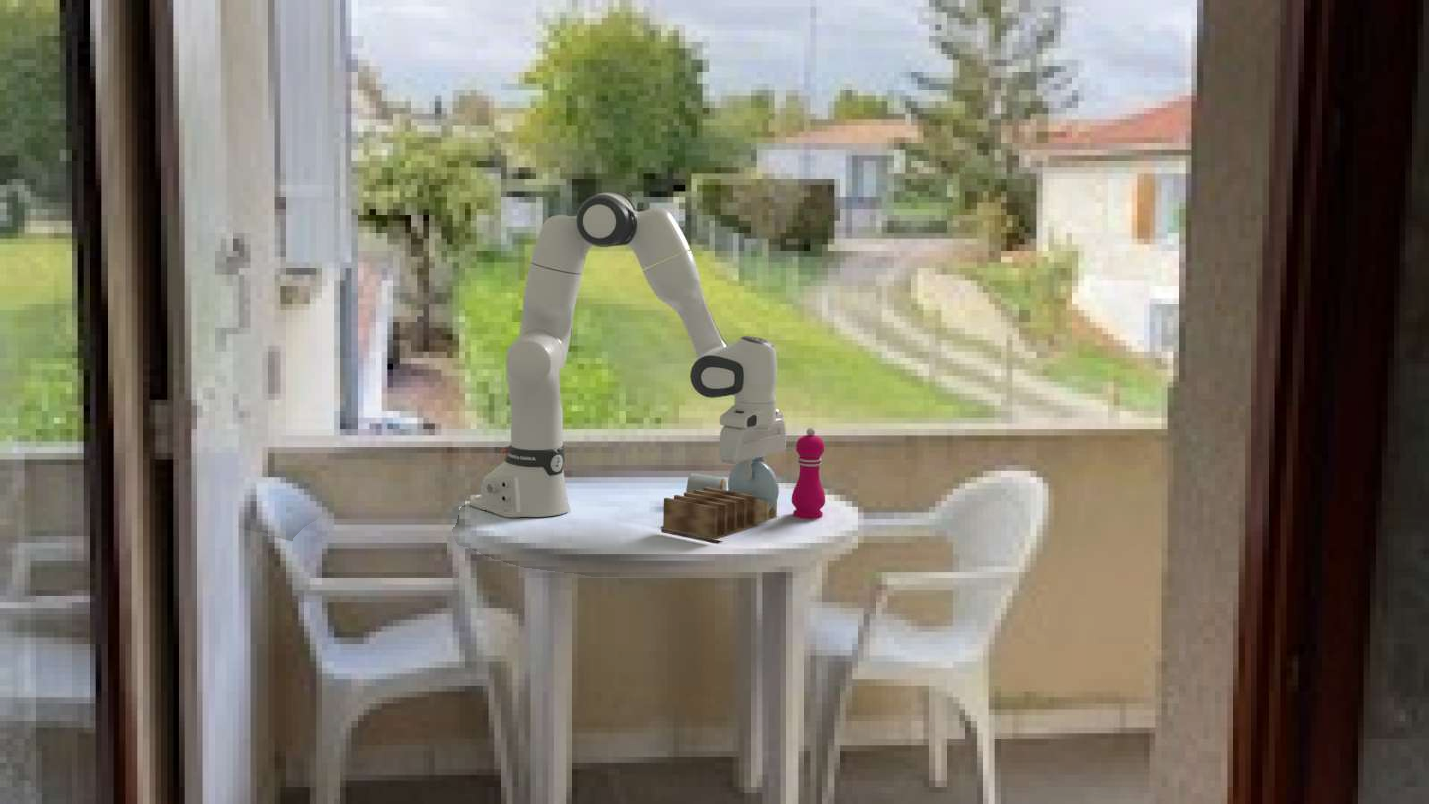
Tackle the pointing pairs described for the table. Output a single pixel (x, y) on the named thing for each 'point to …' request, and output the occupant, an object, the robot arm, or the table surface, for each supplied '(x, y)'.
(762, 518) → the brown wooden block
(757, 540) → the table surface
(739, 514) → the dish rack
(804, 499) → the pepper mill
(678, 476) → the table surface
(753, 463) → the plate
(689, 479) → the ceramic mug
